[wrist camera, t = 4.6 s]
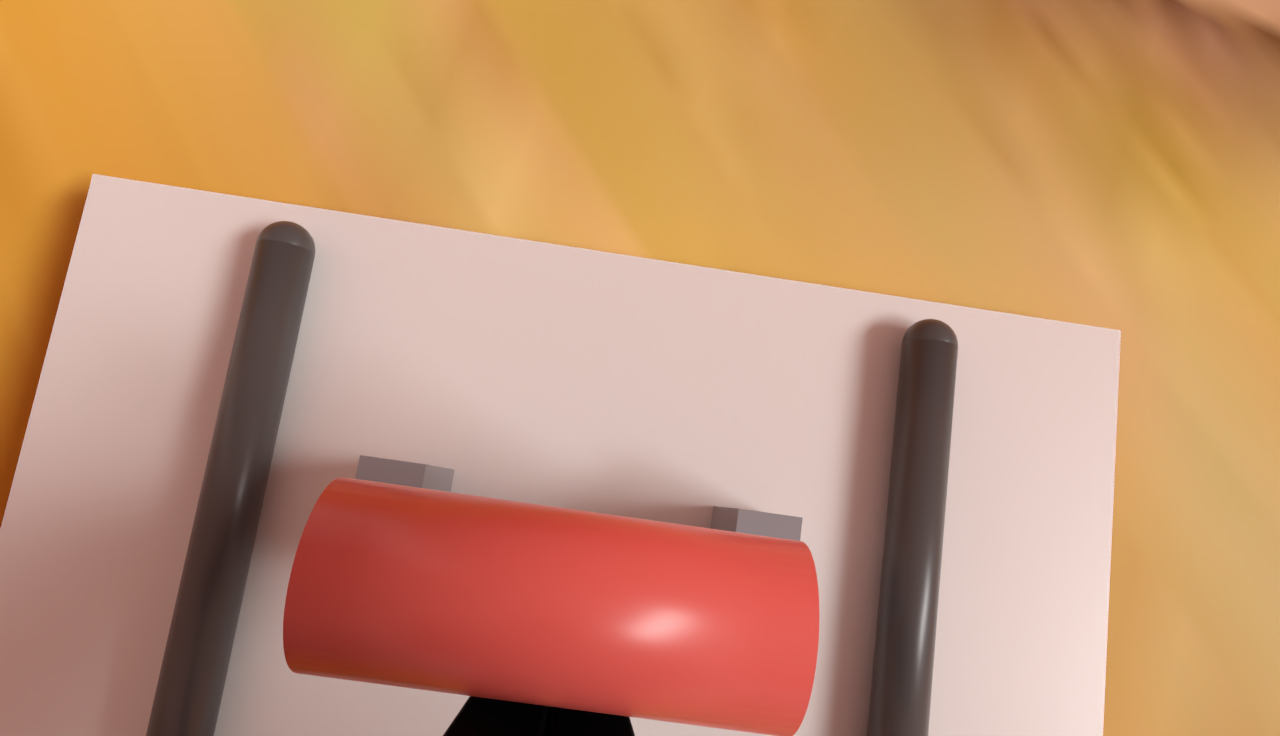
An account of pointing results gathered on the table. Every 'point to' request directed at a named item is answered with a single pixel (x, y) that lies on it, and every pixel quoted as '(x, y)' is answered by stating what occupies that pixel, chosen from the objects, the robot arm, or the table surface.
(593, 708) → the lever
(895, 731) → the plate
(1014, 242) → the table surface
